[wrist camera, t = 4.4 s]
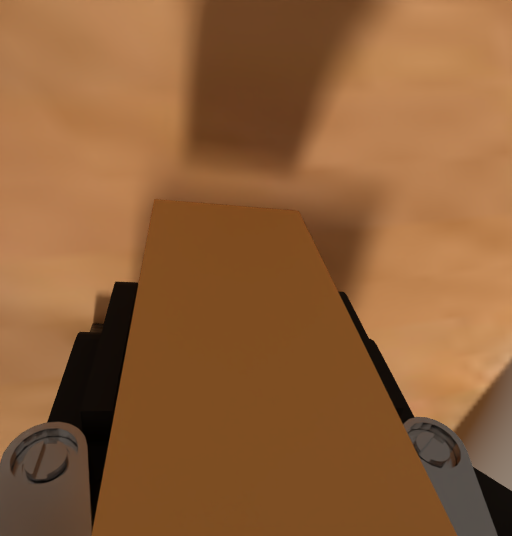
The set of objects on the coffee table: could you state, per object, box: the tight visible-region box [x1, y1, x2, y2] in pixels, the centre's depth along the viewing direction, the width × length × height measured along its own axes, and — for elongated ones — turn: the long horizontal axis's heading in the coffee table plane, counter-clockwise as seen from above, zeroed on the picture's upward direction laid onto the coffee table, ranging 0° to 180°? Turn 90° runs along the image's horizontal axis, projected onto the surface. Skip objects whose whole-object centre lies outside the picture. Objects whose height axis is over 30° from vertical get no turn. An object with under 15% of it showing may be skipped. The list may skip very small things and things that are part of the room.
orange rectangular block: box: [92, 199, 457, 536], centre depth 9 cm, size 4×4×12 cm
